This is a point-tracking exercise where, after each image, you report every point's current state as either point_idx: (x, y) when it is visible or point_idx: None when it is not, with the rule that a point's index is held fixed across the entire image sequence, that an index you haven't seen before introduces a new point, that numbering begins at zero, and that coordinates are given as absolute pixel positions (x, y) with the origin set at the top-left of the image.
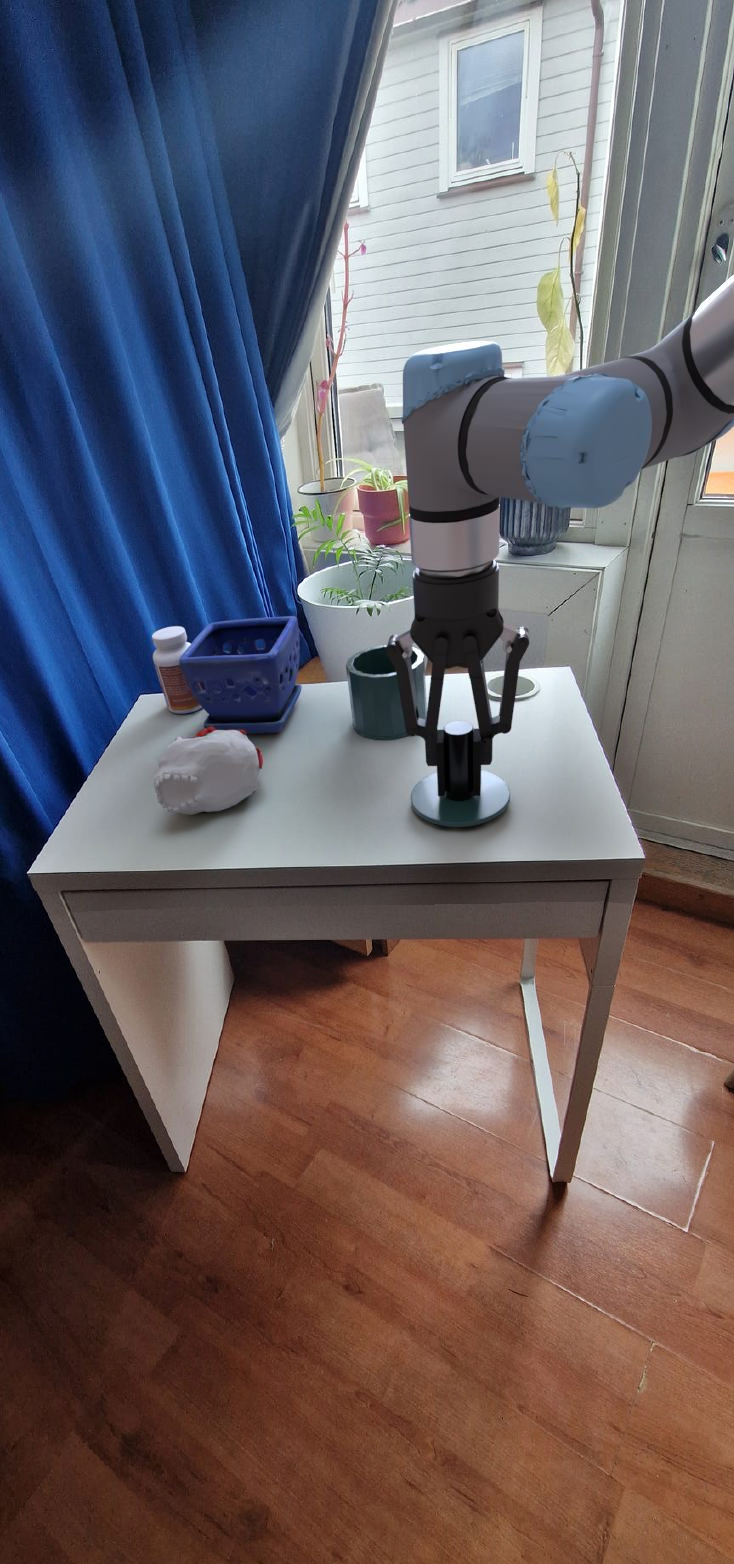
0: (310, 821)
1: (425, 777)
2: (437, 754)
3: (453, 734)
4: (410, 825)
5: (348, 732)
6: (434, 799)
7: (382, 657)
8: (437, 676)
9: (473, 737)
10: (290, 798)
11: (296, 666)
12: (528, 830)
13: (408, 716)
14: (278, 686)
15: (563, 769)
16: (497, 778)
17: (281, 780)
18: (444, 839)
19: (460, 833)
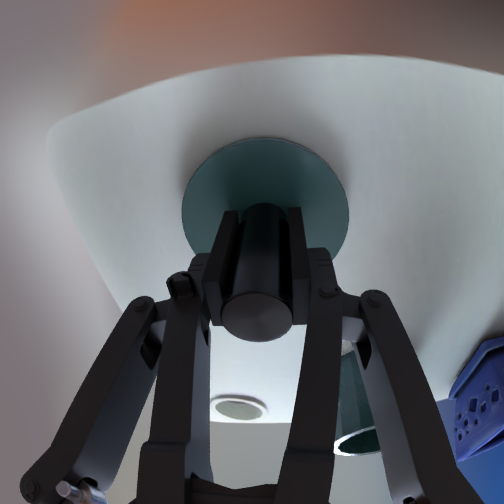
0: (483, 170)
1: None
2: (305, 258)
3: (264, 294)
4: (342, 151)
5: (416, 352)
6: (307, 207)
7: (376, 440)
8: (308, 463)
9: (221, 296)
10: (499, 225)
11: (458, 415)
12: (147, 154)
13: (392, 332)
14: (499, 386)
15: (141, 292)
16: None
17: (501, 262)
18: (278, 113)
19: (252, 132)
